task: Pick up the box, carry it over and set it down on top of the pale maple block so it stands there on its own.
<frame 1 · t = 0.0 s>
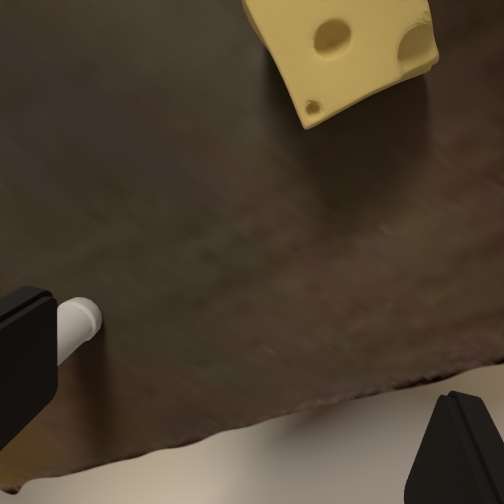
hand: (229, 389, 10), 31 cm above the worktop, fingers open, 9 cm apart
cheese: (339, 46, 35), on the worktop
bottle: (85, 314, 49), on the worktop
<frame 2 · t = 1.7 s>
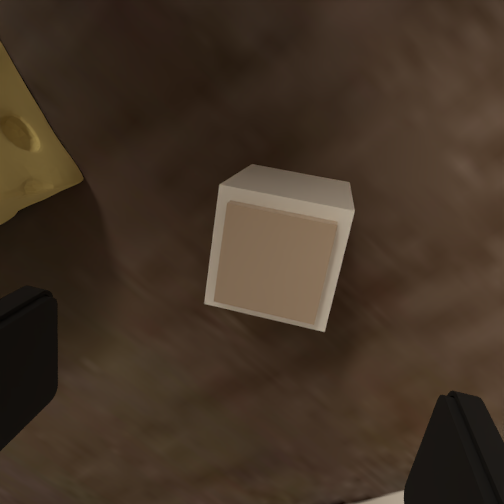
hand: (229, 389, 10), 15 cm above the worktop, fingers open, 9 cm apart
box: (290, 220, 24), on the worktop
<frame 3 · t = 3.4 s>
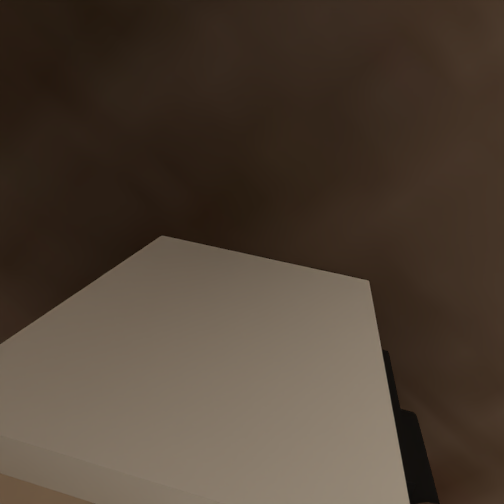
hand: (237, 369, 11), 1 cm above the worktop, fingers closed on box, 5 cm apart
box: (245, 347, 12), on the worktop, touching gripper
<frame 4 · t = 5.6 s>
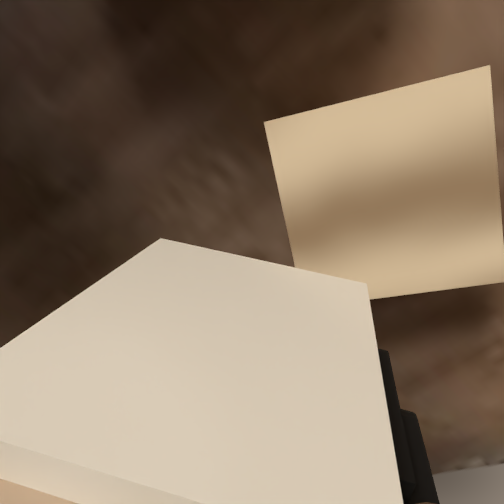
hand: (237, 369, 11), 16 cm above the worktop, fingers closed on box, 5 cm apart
box: (244, 350, 12), point 14 cm above the worktop, touching gripper
block: (374, 182, 24), on the worktop
when the fingers open (8 cm above the worktop, at t = 7.8 s): box stays where it is, resting on block.
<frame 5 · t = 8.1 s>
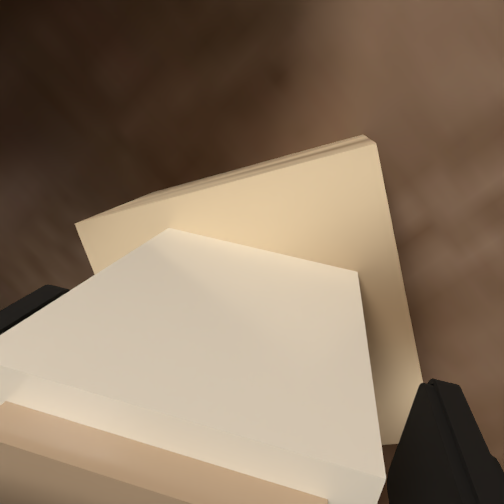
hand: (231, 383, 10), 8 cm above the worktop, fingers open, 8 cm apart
box: (244, 333, 13), point 6 cm above the worktop, touching block
block: (279, 265, 18), on the worktop, touching box
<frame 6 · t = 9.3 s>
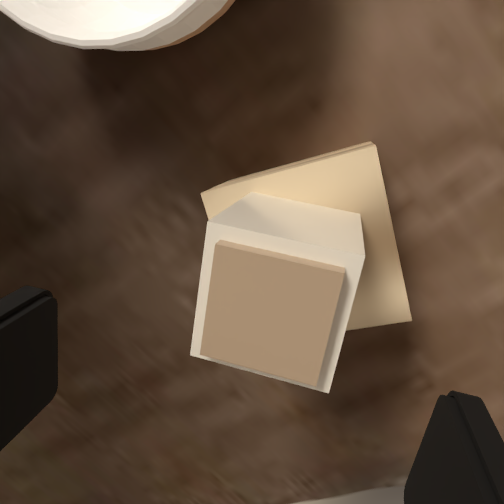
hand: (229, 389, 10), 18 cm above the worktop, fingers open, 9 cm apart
box: (294, 254, 21), point 6 cm above the worktop
block: (314, 229, 27), on the worktop
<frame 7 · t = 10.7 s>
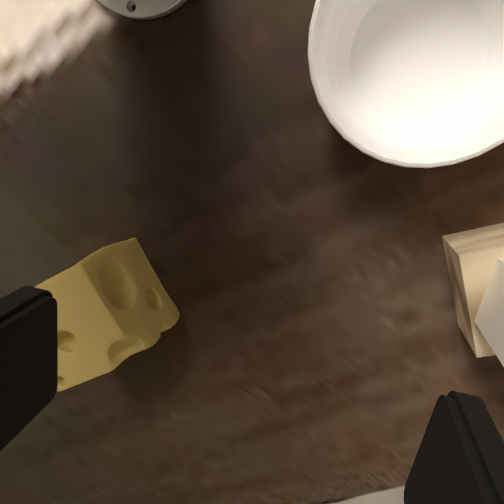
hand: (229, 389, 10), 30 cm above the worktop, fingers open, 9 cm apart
bowl: (414, 57, 33), on the worktop
cheese: (122, 289, 46), on the worktop
block: (503, 270, 37), on the worktop
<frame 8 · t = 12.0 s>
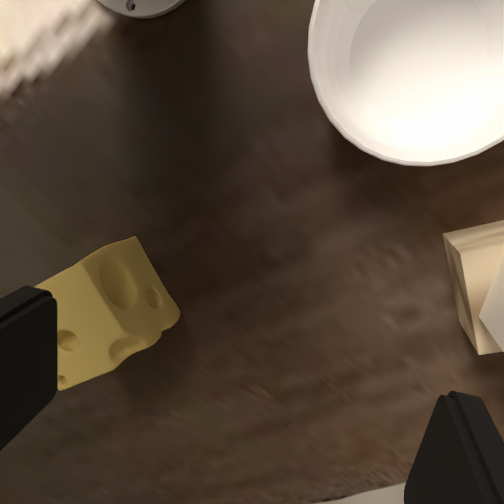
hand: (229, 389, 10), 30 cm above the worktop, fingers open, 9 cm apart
bowl: (413, 55, 34), on the worktop
cheese: (123, 288, 46), on the worktop
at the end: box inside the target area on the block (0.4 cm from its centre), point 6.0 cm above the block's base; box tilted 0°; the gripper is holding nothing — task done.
